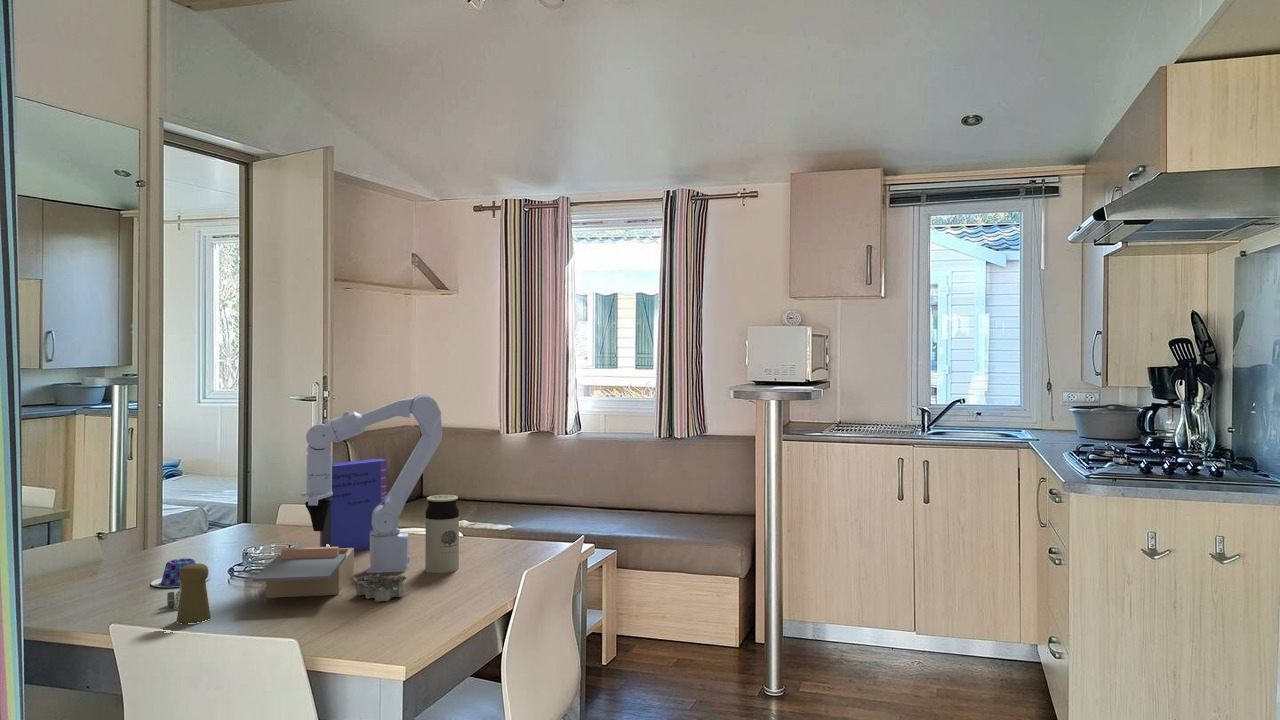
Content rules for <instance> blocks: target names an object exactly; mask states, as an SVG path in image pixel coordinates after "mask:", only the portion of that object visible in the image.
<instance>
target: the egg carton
mask: <svg viewBox="0 0 1280 720" xmlns="http://www.w3.org/2000/svg"><path fill="white" fill-rule="evenodd" d="M352 579H353V580H354V581H355V582H356V583H355V589H356V591H355V593H356V595H357V596H364V595H365V598H366V599H374V601H375V602H377V603H378V602H388V601H391V600H390V599H391V598H394V597H396V598H397V597H398V598H400V597H402V596H404V590H405V589H404V583H403V582H405V580H406V579H407V577H406V576H404V575H402V574H400V575H398V576H390V575H389V576H386V575H384V576H382V575H381V574H380V573H375V575H373V573H369V575H363V576H362V575H360V577H352Z"/></svg>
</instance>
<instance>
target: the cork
mask: <svg viewBox="0 0 1280 720" xmlns="http://www.w3.org/2000/svg"><path fill="white" fill-rule="evenodd" d="M208 576H209V567H208V566H207V565H206V564H204V563H196V564H189V565H185V566H183V567H182V568H181V569H180V571H179V578H180V581H181V582H182V587H181V594H180V601H179V608H178V610H177V614H176V621H177V622H178V623H182V624H188V623H197V622H202V621H205V620H208V619H210V618H211V611H210V605H209V597H208V596H209V595H208V589H207V584H206V582H207V580H206V579H207V577H208ZM205 580H206V581H205ZM210 620H211V619H210ZM208 621H209V620H208ZM177 622H176V623H177Z"/></svg>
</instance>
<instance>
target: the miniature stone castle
mask: <svg viewBox="0 0 1280 720" xmlns="http://www.w3.org/2000/svg"><path fill="white" fill-rule="evenodd" d="M181 587H182V582H181V581H180V587H178V588H179V590H176V593H175V591H167V593H166V601H167V602H166V603H167V605H166V607H168V608H172V607H171V606H174V607H173V610H174V609H178V608H179V601H180V594H181ZM174 604H175V605H174Z"/></svg>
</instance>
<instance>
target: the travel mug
mask: <svg viewBox="0 0 1280 720" xmlns="http://www.w3.org/2000/svg"><path fill="white" fill-rule="evenodd" d="M458 499H459V497H458V495H454V494H437V495H430V496H428V497H426V500H427V503H428V505H427V508H426V510H425V547H424V549H425V554H424V555H425V557H424V558H425V559H424V561H425V569H424V570H425V572H427V573H432V574H447V573H452V572H455V571H458V570H459V567H460V564H459V563H460V556H459V555H460V509H459V507H458V506H457V502H458Z"/></svg>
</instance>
